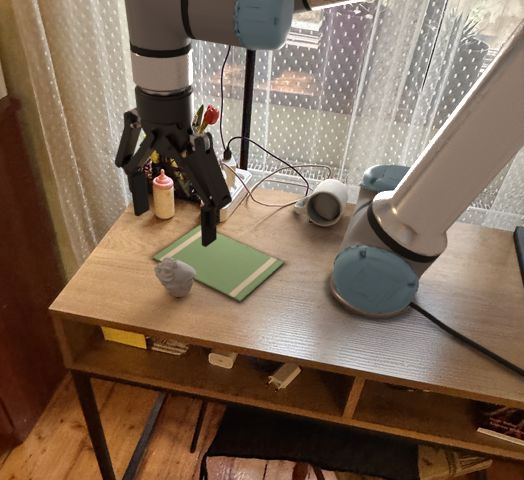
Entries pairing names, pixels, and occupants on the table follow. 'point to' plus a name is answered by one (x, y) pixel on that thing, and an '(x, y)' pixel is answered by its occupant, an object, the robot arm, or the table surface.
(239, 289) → the tea towel
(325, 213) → the ceramic mug
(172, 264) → the grey lumpy lump
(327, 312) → the table surface
